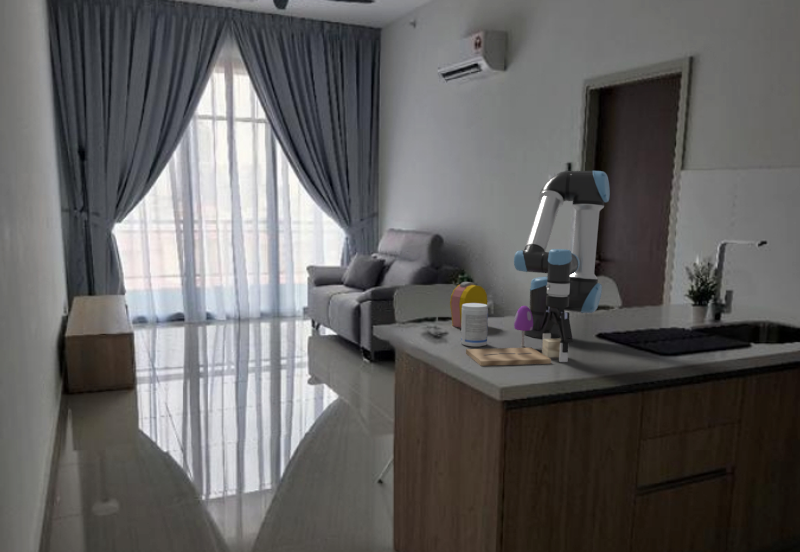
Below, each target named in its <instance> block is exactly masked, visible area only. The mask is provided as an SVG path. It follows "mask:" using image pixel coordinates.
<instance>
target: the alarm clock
mask: <svg viewBox="0 0 800 552" xmlns="http://www.w3.org/2000/svg"><path fill="white" fill-rule="evenodd" d="M488 302H489V301H488V294H487V291H486V290H485V288H483V286H482V285H477V284H476V283H474V282H471V281H462V282H461V283H460V284H458V285H457V286H456V287H455V288H454V289H453V290H452V293H451V294H450V300H449V305H450V313H451V323H452V324H451V325H452V327H456V328H460V329H461V320H462V305H463V304H466V303H481V304H486V305H487V306H488Z"/></svg>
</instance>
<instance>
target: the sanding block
mask: <svg viewBox="0 0 800 552" xmlns="http://www.w3.org/2000/svg"><path fill="white" fill-rule="evenodd" d="M542 340H543V347H542V346H541V353H542V354H543V355H545V356H547V357H548V358H550V359H551V360H557V359H558V360H559V352H560V341H561V338H560V337H559V338H551V339H543V338H542Z"/></svg>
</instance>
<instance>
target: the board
mask: <svg viewBox="0 0 800 552" xmlns="http://www.w3.org/2000/svg"><path fill="white" fill-rule="evenodd" d="M465 349H466V348H465ZM465 354H466V355H467V356H469V358H470V359H472V360H473V361H474V362H476V363H477V364H478V365H479V366H480V367H484V366H486V367H487V366H517V365H546V364H549V365H550V364H552V359H550V358H548V357H547V356H545V355H543V354H542V352H540V351H538V350H537V349H535V348H533V347H505V348H501V347H500V348H498V347H495V348H467V349H466V350H465Z"/></svg>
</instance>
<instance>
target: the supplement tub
mask: <svg viewBox="0 0 800 552" xmlns="http://www.w3.org/2000/svg"><path fill="white" fill-rule="evenodd" d="M488 318H489V310H488V304H487V305H486V304H481V303H466V304H463V305H462V320H461V328H460V329H461V331H460V335H461V336H460V343H461V344H462V345H463V346H466V347H474V348H475V347H476V348H478V347H479V348H480V347H484V346H486V345H487V344H488V326H489V325H488V324H489V322H488V321H489V320H488Z"/></svg>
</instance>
